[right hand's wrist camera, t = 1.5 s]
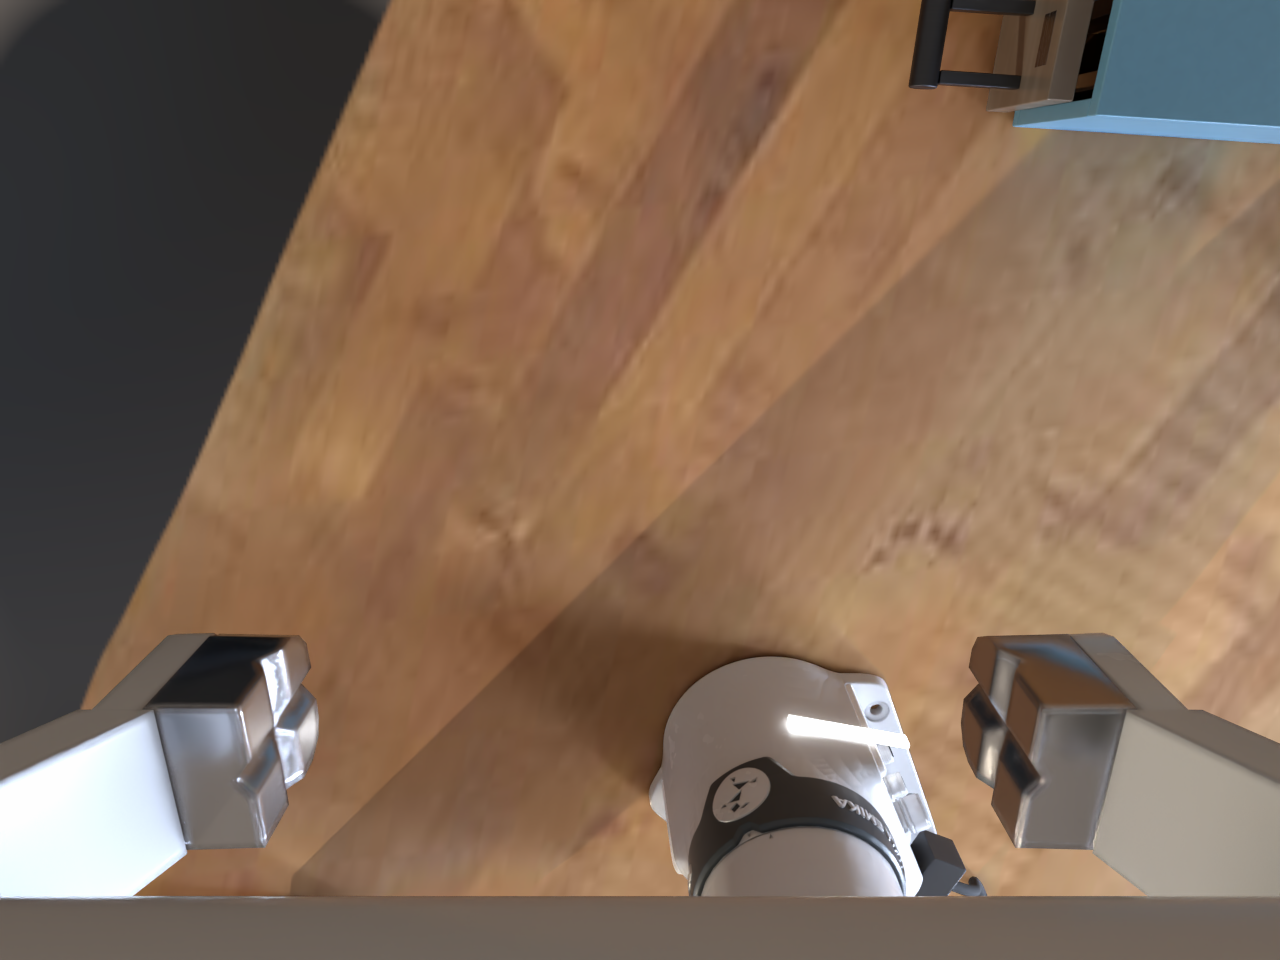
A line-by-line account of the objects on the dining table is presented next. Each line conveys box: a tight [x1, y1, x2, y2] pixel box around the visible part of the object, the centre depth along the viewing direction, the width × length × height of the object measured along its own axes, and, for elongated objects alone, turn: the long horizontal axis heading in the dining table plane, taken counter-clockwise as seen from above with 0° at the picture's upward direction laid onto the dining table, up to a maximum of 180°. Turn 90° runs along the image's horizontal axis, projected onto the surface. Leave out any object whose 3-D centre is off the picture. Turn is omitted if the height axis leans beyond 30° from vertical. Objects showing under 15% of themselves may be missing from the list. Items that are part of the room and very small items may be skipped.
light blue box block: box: [1013, 0, 1280, 144], centre depth 41 cm, size 16×6×9 cm, turn 87°
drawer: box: [909, 0, 1113, 112], centre depth 41 cm, size 20×5×7 cm, turn 87°
